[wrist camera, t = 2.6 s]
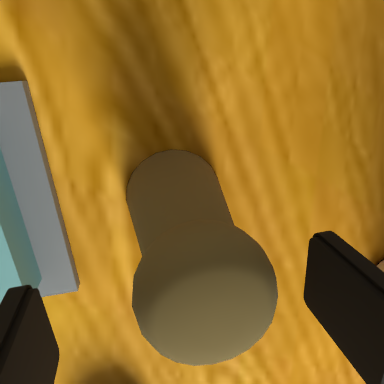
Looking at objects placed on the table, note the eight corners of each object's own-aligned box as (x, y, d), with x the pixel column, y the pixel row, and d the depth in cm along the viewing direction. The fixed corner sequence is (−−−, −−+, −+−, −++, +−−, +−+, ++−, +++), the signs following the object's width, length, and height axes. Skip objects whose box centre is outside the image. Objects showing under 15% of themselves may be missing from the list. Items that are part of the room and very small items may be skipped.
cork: (236, 198, 20) (336, 322, 10) (167, 252, 21) (198, 419, 11) (181, 128, 18) (240, 201, 8) (105, 192, 19) (70, 333, 9)
